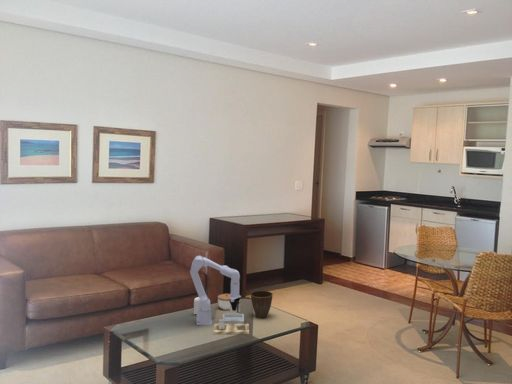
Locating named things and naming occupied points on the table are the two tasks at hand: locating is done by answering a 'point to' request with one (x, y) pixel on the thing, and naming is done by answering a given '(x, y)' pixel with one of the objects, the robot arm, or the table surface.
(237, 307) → the loose billet
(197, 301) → the photo printer
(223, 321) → the block
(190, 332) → the table surface
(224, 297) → the lidded bowl
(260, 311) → the plant pot
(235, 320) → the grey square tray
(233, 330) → the wooden frame board
